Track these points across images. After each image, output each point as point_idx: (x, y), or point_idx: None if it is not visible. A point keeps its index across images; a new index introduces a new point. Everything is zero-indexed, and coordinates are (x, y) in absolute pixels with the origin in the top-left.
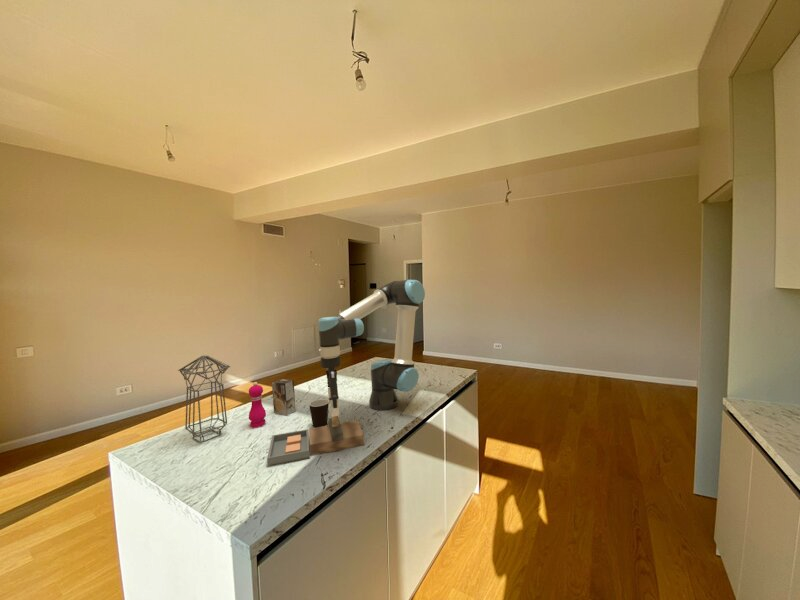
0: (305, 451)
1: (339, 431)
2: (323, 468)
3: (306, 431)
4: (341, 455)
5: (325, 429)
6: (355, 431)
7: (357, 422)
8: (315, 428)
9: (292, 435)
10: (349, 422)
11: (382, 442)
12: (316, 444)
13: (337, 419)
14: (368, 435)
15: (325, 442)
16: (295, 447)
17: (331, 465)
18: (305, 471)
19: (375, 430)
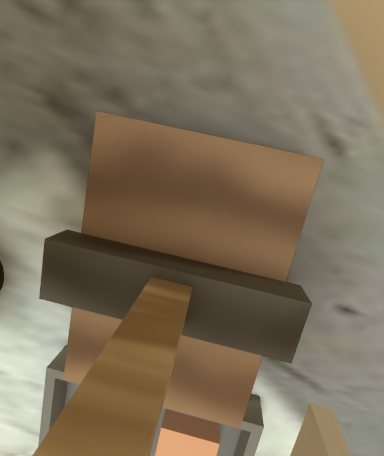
0: (258, 437)
1: (271, 311)
2: (371, 379)
3: (68, 381)
4: (324, 288)
5: (117, 319)
6: (246, 186)
7: (128, 124)
8: (77, 355)
9: (56, 419)
10: (99, 170)
11: (349, 54)
12: (248, 399)
13: (184, 317)
14: (220, 94)
15: (259, 362)
16: (190, 452)
17: (373, 348)
18: (342, 433)
19: (186, 28)
